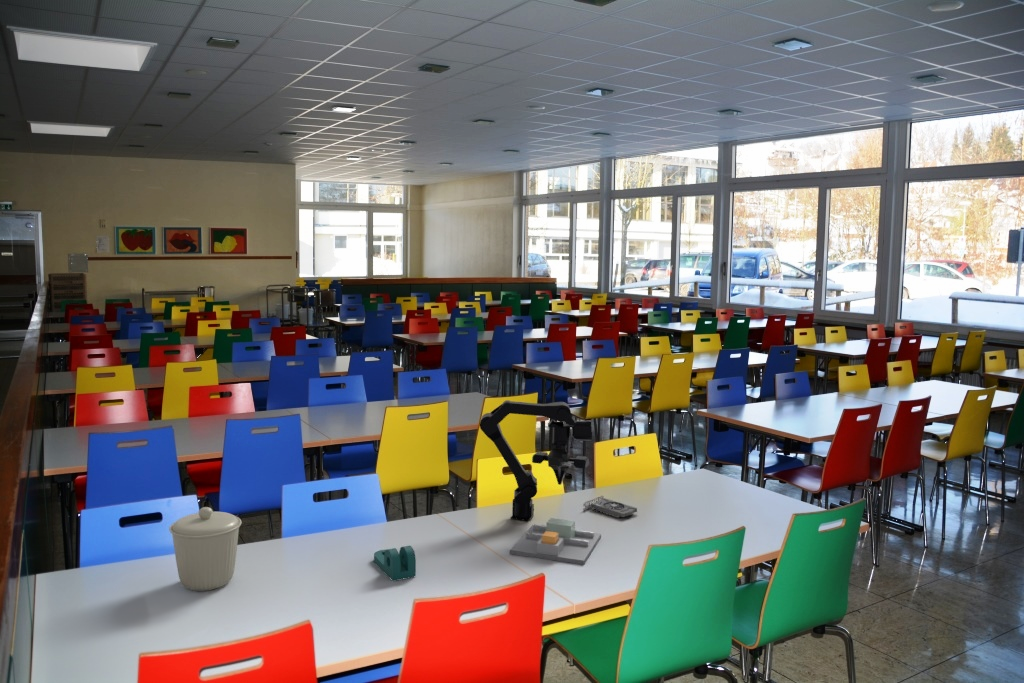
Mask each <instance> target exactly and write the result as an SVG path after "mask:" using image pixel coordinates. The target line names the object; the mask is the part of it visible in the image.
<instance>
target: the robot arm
mask: <svg viewBox="0 0 1024 683" xmlns="http://www.w3.org/2000/svg"><path fill="white" fill-rule="evenodd" d="M510 414H511V415H512V414H513V415H514V414H515V415H526V416H535V417H536V416H539V417H543V418H544V417H545V418H547V419H550V421H549V422H548V423H547V427H548V428H552V443H551V448H550V451H549V453H548V452H545V451H537V452H535V453H534V454H533V455H532V458H531V462H532V463H534V464H542V463H543V462H547V464H548V467H549V468H551V469H552V471H553V473H554V476H555V479H556V481H557V485H562V483H563V481H564V479H565V476H566V473H567V471H568V470H569V469H570V468H572V466H574V467H575V468H576V469H587V467H588V466H589V465H590V458H589V457H588V456H584V455H577V456H576V457H571V456H570V455H571V453H570V444H571V441H570V439H571V437H572V438H573V439H574V440H575V441H592V440H593V430H592V420H590V419H589V420H588V419H586V420H576V419H575V416H573V414H572V411H571V407H570V406H569V404H568V403H566V401H565V402H564V401H556V402H555V401H554V402H549V403H548V402H547V403H533V402H525V401H523V402H522V401H514V400H513V401H511V400H508V399H507V400H505V401H503V402H502V403H501V404H500V405H499V406H497V407H495V408H494V409H493V410H492V411H490V412H486V413H483V415H482V416H481V417H480V421H479V428H480V430H481V431H482V432H483V434H485V436H486V437H487V438H488V439H489V440H491V442H492V443H494V445H495V447H496V448H497V451H498V452H499V453H500V455H501V457H502V458H503V459H504V461H505V464H507V467H508V468H509V469H510V471H511V472H512V474H513V476H514V478H515V482H516V484H517V487H516V488H515V489H514V490H513V494H514V495H513V499H512V508H511V509H512V510H511V511H512V515H511V516H510V519H512V520H520V521H527V522H529V521H531V519H532V518H533V517H534V514H535V513H534V511H535V510H534V508H535V504H534V503H533V499H532V498H534V497H535V496H536V495H537V493H538V480H537V477H535V476H534V473H533V472H532V470H531V469H530V470H529V471H527V470H526V469H525V468H524V467H523V465H522V463H521V462H520V460H519V459H518V457H517V455H516V453H515V452H514V451H513V449H512V448H511V446H510V444H509V443H508V441H507V439H506V437H505V435H504V434H503V431H502V429H501V426H500V423H501V422H502V421H503V420H504V419H505V418H506V417H507V416H509V415H510ZM570 434H571V435H570ZM570 436H571V437H570Z"/></svg>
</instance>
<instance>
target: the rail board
mask: <svg viewBox="0 0 1024 683" xmlns="http://www.w3.org/2000/svg"><path fill="white" fill-rule="evenodd" d="M545 532H546V525H544V524H535V523H534V524H532V525H531V526H529V528H528V529H527V530H526V531H525V533H524V534H523V535H521V537H520V538H519V539H518V540H517V541H516V542H515V543H514V544H513V546H512V547H511V548H510V549H509V555H516V556H524V557H530V558H536V559H537V558H538V559H544V560H551V561H558V562H565V563H571V564H577V565H585V563H586V562H587V560H588V559H589V558H590V556H591V554H592V553H593V551H594V549H595V548H596V547H597V545H598V543H599V542H600V539H601V538H602V533H598V532H595V531H588V530H581V529H575V537H574V538H565V537H559V538H558V542H557V543H556V545H555V544H548V543H542V535H543V534H544V533H545Z"/></svg>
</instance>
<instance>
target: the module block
mask: <svg viewBox="0 0 1024 683" xmlns="http://www.w3.org/2000/svg"><path fill="white" fill-rule="evenodd" d="M545 526H546V531H549V532H557V533H559V537H565V538H574V537H575V530H576V527H575V526H576V521H575V520H570V519H560V518H553V517H550V518H549V519H548V520H547V522H546V524H545Z"/></svg>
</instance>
